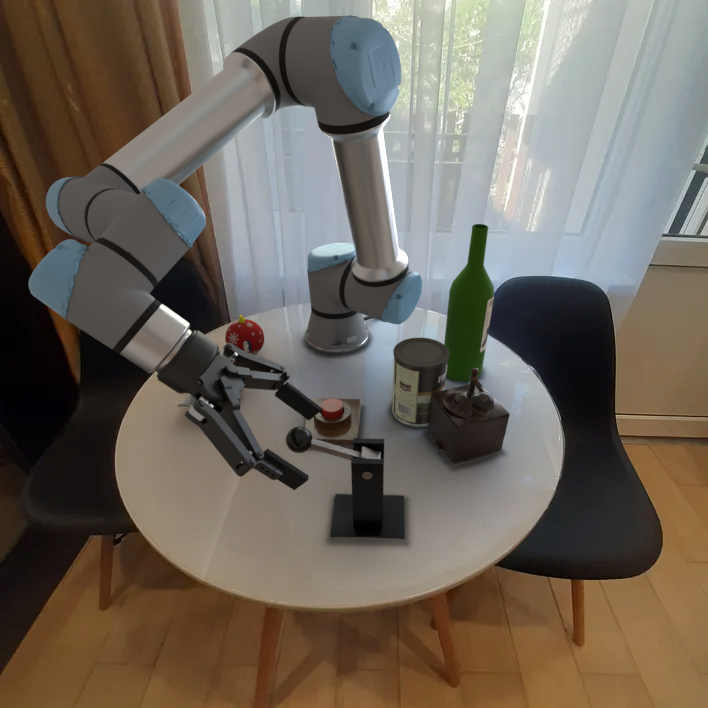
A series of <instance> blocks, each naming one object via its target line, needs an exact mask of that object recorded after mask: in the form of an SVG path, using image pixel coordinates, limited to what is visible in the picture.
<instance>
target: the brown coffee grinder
mask: <svg viewBox="0 0 708 708" xmlns="http://www.w3.org/2000/svg"><path fill="white" fill-rule="evenodd" d="M471 373H472V374H471V375H470V377H469V378H470V380H471V381H469V384H464V385H459V386H455V387H450V388H448V389H445V390H442V391H438V392H434V393H432V394H431V401H430V412H429V423H428V426H427V430H426V431H427V432H429V434H430V436H431V437H432V438H433V439H434V442H433V445H434V446H435V448H436V450H441V451H442V452H443V453H444V454H445V456H446V457H447V458H448V460H450V462H451V463H452V464H453V465H458V464H461V463H465V462H469V461H473V460H476V459H480V458H482V457H486V456H489V455H492V454H494V453H496V452H499V451H501V450H502V449H503V445H504V440H505V437H506V432H507V428H508V424H509V420H510V413H509V411H508V410H507V409H506V408H505V407H504V406H503V405H502V404H501V403H500V402H499V401H498V400H497V399H496V398H495V397H494V396H493V395H492V393H490V391H488V390H487V389H486V387H485V386H484V385H483V384H482V383H481V382H480V381H479V377H478V373H479V370H478V368H473V369H472V370H471Z"/></svg>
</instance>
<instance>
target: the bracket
mask: <svg viewBox="0 0 708 708" xmlns="http://www.w3.org/2000/svg"><path fill="white" fill-rule="evenodd" d="M362 446H363V447H367V448H370V449H373V450H377V451H380V452H381V456H380V459H364V458H352V459H351V460H350V474H351V493H335V496H334V505H333V512H332V519H331V528H330V534H329V536H330V537H331V538H358V539H359V538H360V539H361V538H363V539H364V538H365V539H405V537H406V535H405V496H404V495H401V494H400V495H399V494H397V495H396V494H393V495H392V494H384V484H385V483H384V479H385V438H364V437H363V438H362V437H361V438H359V437H358V438H354V439H353V445H352V450H354V451H358V452H360V450H361V448H362Z"/></svg>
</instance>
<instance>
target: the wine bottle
mask: <svg viewBox="0 0 708 708" xmlns="http://www.w3.org/2000/svg"><path fill="white" fill-rule="evenodd" d="M489 229H490V228H489V226H488V225H486V224H483V223H475V224H473V225H472V226H471V233H470V234H471V235H470V243H469V250H468V254H467V255H468V256H467V263H466V265H465V266H464V267H463V269H461V271H460V273H458V275H456V276H455V278H454V280H453V281H452V283H451V285H450V288H449V292H448V303H447V312H446V323H445V332H444V341H443V342H444V343H443V344H444V345H445V346H446V347H447V348H448V350H449V359H448V365H447V374H446V378H447V379H450V380H452V381H456V382H461V383H465V382H466V383H468V382H471V380H470V378H469V377H470V375H471V374H472V373H471V370H472V369H473V368H478V370H479V373H478V378H479V377H481V375H482V373H483V367H484V361H485V356H486V355H485V354H486V349H487V348H486V347H487V343H488V336H489V332H490V331H489V330H490V324H491V317H492V313H493V305H494V299H495V286H494V283H493V282H492V280H491V278H490V275H489V274H488V271H487V269H486V267H485V257H486V249H487V241H488V235H489V234H488V232H489Z"/></svg>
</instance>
